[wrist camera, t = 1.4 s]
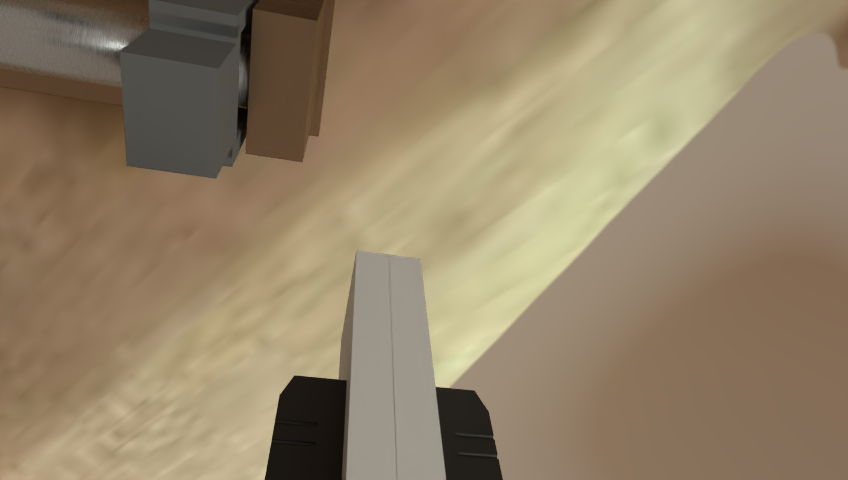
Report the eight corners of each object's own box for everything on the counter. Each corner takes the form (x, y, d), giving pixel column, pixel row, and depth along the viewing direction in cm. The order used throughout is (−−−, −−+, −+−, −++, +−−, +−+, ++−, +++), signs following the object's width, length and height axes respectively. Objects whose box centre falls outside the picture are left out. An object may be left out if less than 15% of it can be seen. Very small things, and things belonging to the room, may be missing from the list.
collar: (192, -30, 26) (117, 18, 18) (263, -15, 26) (219, 37, 19) (192, 103, 29) (128, 190, 21) (256, 113, 29) (215, 202, 22)
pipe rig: (-203, -177, 25) (-436, -190, 18) (341, -61, 29) (331, -33, 22) (-135, 57, 30) (-295, 120, 23) (319, 129, 34) (304, 204, 27)
